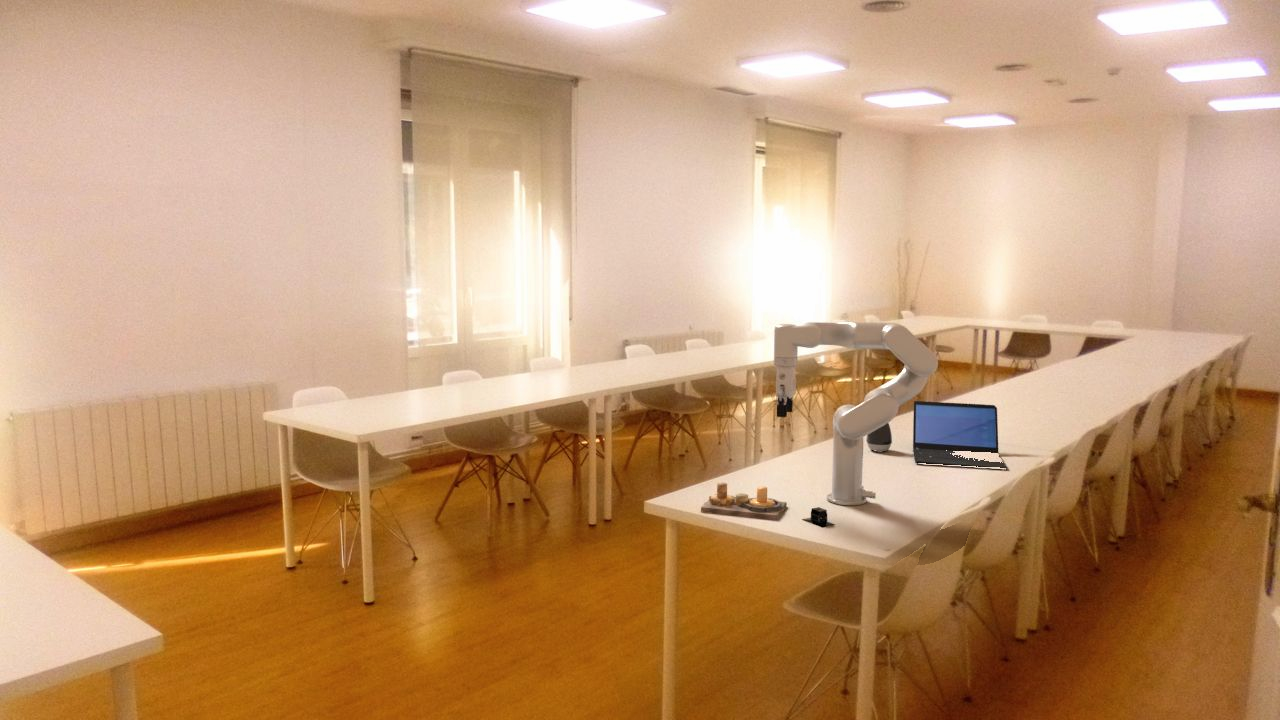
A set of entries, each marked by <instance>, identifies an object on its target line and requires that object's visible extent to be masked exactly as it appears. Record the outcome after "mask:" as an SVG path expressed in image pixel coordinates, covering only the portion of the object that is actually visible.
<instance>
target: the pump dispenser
mask: <svg viewBox="0 0 1280 720" xmlns="http://www.w3.org/2000/svg"><path fill="white" fill-rule="evenodd" d="M892 444H893V436H892V429H891V426H890V422H889V423H887V424H885V425H884V426H882V427H880V428H878V429H877V430H875V431H873V432H871V433H870V434H868V435H866V445H867V447H868V449H870V451H872V450H876V451H885V452H887V451H888V450H889V449H890V448H891V446H892ZM886 450H887V451H886Z"/></svg>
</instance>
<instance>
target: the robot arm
mask: <svg viewBox="0 0 1280 720" xmlns="http://www.w3.org/2000/svg"><path fill="white" fill-rule="evenodd" d="M773 332H774V335H773V337H774V339H773V342H774V343H773V344H774V345H773V346H774V347H773V367H774V368H776V377H775V379H776V381H775V394H776V395H775V396H776V398H777V401H776V417H777V418H787V417H788V413H793V409H794V408H793V403H794V400H793V397H794V396H795V395H796V394H797V389H796V388H797V387H796V385H797V383H796V368H798V348H799V347H800V348H806V349H807V348H808V349H814V348H816V347H818V346H838V347H843V348H846V349H853V350H854V349H855V350H889V351H890V352H891V353H892V354H893V355H894V356H895V357H896V358H897V359H898V360H899V361H901V362H902V363H903V364H904V366H903V369H902V370H901V372H899V374H897V376H895V377H894V378H892V379H890V380H889V381H887V382H885V383H883V384H882V385H880V386H878V387H877V388H876V387H875V388H874V389H872V390H871V391H869V392H867V394H865V396H864V399H863V402H862V403H861V402H860V404H858V405H854V404H844V405H841V406H839V407H838V408H837V409H836V410H835V412H834V414H833V418H832V432H833V433H832V435H833V438H832V439H833V441H832V446H833V447H832V476H831V477H832V479H831V481H832V482H831V486H832V487H831V492H830V493H828V494H827V495H826V499H827V501H828V502H830V503H831V504H837V505H840V506H841V505H843V506H861V505H864V504H865V503H867V498H869V499H876V497H877V496H876V494H877V493H876V492H873V490H866V489H865V488H864V485H863V464H864V463H863V462H864V460H863V459H864V437H867V435H868V434H870V433H871V432H873V431H875V430H877V429H878V428H880V427H882V426H884V425H885V424H887V423H889V424H890V422H891V421H893V420H894V419H895V417H896V416H897V415H898V413H899V407H901V406H903V405H904V404H906V403H907V402H908V401H911V400H912V399H913V398H915V397H916V396H917V395H919V394H920V393H921V392H922V391H923V390H924V387H925V386H926V384H927V382H928V379H929V376H932V375H933V374H935V372H936V371H937V369H938V366H939V361H938V357H937V356H936V354H935V353H934V352H933V351H932V349H931V350H930V349H929V347H928V346H926V345H925V343H923V342H922V341H921V340H920V339H919V338H918V337H916V336H915V335H914V334H913V332H911V331H910V330H909V329H908V328H907V327H906V326H905V325H902V324H900V323H896V322H857V321H856V322H849V321H848V322H818V321H817V322H805V323H803V324H801V325H795V324H792V323H789V324H788V323H781V324H776V326H774V331H773Z"/></svg>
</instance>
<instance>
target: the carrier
mask: <svg viewBox="0 0 1280 720" xmlns="http://www.w3.org/2000/svg"><path fill="white" fill-rule="evenodd" d="M708 498H709V499H708V500H707V501H706V502H705V503H704V504H702V505H701V506H700V512H701V511H703V512H702V513H708V512H712V513H711V514H717V513H719V514H718V515H729V516H737V517H745V518H755V519H762V520H772V521H778V519H779V518H780V516H781V515H782V514H783V513H784V511H785V510H786V508H787V505H788V504H787V501H779V500H776V499H775V498H771V497H770V498H769V497H767V499H770V500H774V502H775V506H773V507H766V508H764V507H754V506H750V505H749V500H752V499H754V498H755V497H752V498H751V497H749V494H747V493H744V492H743V493H736V494H735V496H734V495H730V494H728V483H726V482H718V483H716V494H712V495H709V497H708Z"/></svg>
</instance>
